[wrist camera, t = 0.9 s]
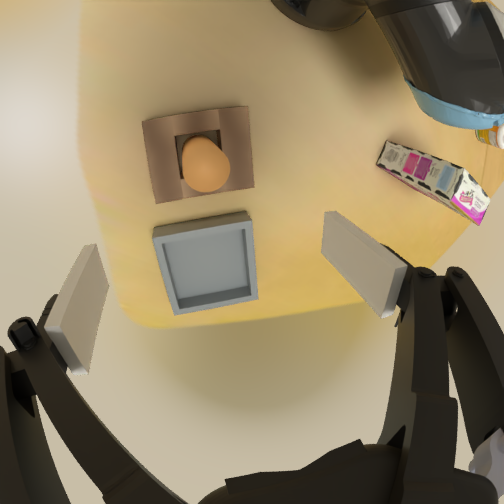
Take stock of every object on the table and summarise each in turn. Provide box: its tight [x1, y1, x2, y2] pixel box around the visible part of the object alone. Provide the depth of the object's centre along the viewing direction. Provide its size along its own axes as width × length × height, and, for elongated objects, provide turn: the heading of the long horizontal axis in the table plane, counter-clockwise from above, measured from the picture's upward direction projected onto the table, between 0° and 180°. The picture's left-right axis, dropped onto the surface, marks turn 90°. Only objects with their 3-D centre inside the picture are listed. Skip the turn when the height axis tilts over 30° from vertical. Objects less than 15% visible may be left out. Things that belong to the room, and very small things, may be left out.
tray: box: [152, 211, 258, 315], centre depth 40 cm, size 13×13×4 cm
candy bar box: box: [377, 141, 490, 226], centre depth 35 cm, size 11×5×16 cm, turn 68°
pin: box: [182, 135, 230, 192], centre depth 28 cm, size 4×4×13 cm
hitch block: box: [142, 106, 254, 204], centre depth 32 cm, size 12×10×4 cm
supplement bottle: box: [476, 125, 504, 149], centre depth 38 cm, size 5×5×10 cm
